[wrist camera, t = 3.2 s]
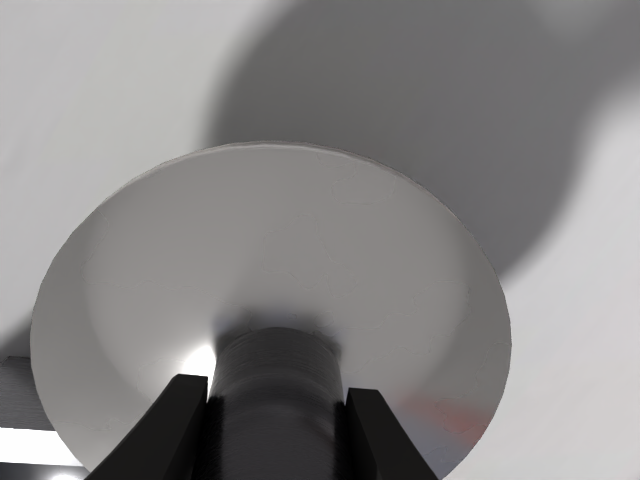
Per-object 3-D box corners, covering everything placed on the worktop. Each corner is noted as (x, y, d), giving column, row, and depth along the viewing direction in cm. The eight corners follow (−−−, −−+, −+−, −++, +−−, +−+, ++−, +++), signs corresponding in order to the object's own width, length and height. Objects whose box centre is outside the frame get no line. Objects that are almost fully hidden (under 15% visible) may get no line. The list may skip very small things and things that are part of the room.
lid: (543, 158, 11) (748, 283, 6) (438, 498, 15) (508, 734, 10) (34, 103, 10) (-217, 197, 5) (74, 483, 14) (-41, 737, 9)
